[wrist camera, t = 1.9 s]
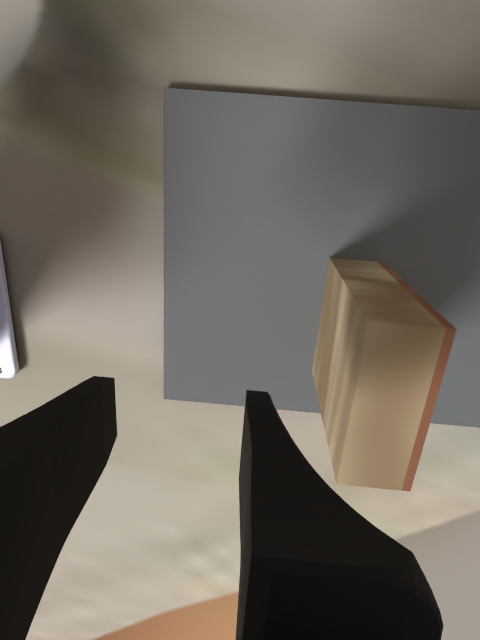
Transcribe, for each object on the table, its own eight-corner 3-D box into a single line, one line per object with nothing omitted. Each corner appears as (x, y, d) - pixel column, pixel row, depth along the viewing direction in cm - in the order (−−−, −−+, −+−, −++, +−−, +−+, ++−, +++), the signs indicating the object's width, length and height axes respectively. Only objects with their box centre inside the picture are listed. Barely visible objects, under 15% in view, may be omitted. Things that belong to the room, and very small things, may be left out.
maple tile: (312, 371, 22) (336, 484, 14) (329, 257, 19) (369, 321, 12) (360, 375, 22) (410, 491, 14) (383, 262, 19) (456, 329, 12)
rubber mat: (165, 394, 23) (163, 398, 23) (166, 88, 18) (164, 87, 17) (530, 427, 23) (535, 432, 22) (651, 123, 17) (659, 123, 17)
